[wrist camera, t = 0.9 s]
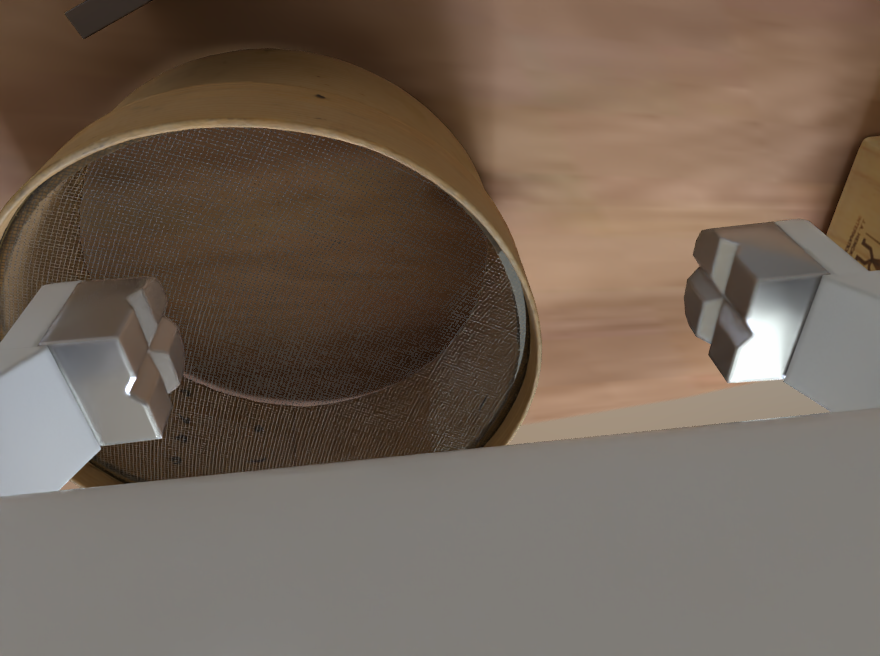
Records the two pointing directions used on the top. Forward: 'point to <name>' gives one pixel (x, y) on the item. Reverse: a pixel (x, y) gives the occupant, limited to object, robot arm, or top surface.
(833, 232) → the knife block
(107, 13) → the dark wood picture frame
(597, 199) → the top surface
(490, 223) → the steamer basket
